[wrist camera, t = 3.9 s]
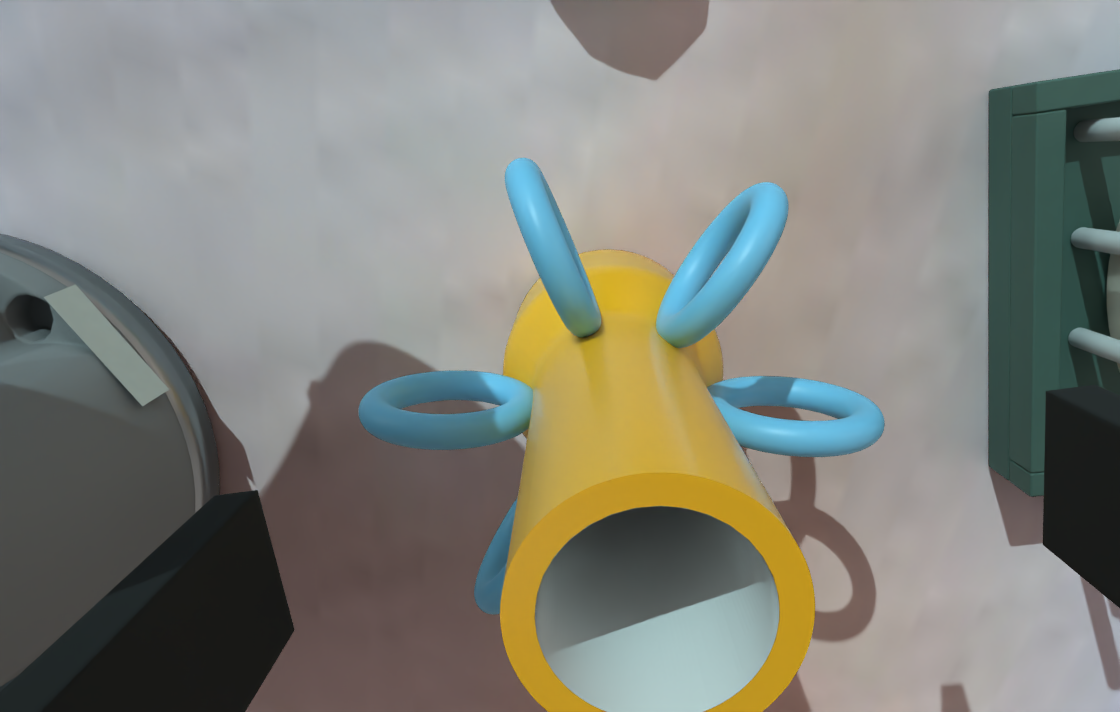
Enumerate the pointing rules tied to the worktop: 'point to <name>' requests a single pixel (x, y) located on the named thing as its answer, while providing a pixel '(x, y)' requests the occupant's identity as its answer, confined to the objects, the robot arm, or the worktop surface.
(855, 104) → the worktop surface
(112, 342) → the robot arm
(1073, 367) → the dish rack
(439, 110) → the worktop surface
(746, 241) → the cylinder
